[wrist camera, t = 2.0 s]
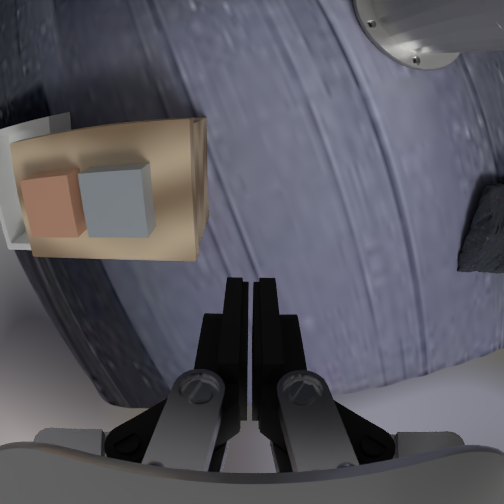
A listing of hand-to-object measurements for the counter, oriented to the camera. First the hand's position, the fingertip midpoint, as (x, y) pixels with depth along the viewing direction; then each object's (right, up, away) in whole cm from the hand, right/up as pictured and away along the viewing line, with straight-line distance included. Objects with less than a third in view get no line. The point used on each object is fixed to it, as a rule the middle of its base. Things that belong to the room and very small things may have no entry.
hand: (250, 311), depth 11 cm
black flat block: (+37, +6, +21) cm, 43 cm away
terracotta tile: (-16, +6, +11) cm, 20 cm away
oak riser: (-12, +10, +18) cm, 24 cm away
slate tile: (-10, +6, +11) cm, 16 cm away
